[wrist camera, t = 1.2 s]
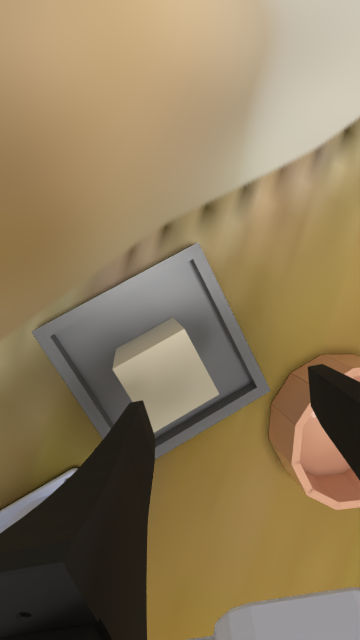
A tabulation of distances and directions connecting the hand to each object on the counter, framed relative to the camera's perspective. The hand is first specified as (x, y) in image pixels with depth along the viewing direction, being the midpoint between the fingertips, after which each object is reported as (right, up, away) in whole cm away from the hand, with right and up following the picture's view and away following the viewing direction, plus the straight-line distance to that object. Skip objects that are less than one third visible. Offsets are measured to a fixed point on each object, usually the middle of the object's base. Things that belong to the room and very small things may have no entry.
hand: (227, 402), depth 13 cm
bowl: (+11, -5, +12) cm, 17 cm away
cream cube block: (-3, +1, +8) cm, 9 cm away
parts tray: (-4, +1, +9) cm, 9 cm away
